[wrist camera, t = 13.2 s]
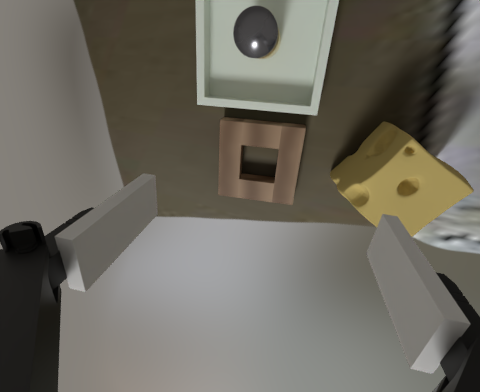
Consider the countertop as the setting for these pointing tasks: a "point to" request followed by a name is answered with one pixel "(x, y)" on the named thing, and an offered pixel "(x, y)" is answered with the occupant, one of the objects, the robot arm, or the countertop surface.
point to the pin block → (259, 135)
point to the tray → (264, 70)
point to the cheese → (398, 180)
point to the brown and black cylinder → (257, 33)
